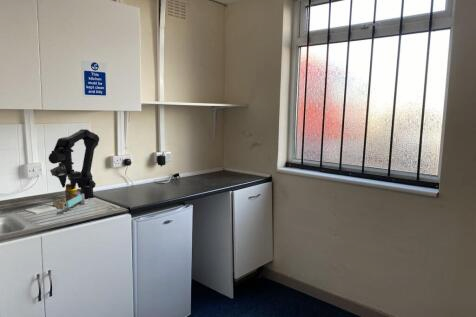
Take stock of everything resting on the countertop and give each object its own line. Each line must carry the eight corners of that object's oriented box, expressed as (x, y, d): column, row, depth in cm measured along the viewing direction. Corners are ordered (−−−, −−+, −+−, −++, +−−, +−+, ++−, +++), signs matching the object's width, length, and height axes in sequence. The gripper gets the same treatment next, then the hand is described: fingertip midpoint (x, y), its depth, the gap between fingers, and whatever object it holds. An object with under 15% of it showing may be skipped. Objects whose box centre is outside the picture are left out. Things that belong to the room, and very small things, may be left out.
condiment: (80, 205, 204) (79, 184, 202) (64, 207, 198) (63, 186, 197) (75, 202, 209) (74, 182, 208) (60, 205, 204) (58, 184, 202)
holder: (73, 201, 212) (73, 191, 211) (85, 204, 205) (84, 193, 205) (53, 205, 202) (52, 195, 201) (65, 209, 196) (64, 198, 195)
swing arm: (80, 199, 203) (80, 194, 203) (82, 199, 203) (82, 194, 203) (66, 207, 187) (65, 202, 187) (68, 207, 187) (68, 202, 187)
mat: (46, 205, 202) (46, 204, 202) (56, 209, 196) (56, 207, 196) (25, 210, 193) (25, 209, 193) (36, 213, 187) (35, 212, 187)
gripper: (42, 161, 199) (45, 189, 202) (61, 164, 189) (63, 193, 191) (62, 158, 208) (64, 185, 211) (81, 161, 198) (82, 189, 200)
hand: (68, 188), depth 203 cm, fingers open, 9 cm apart
